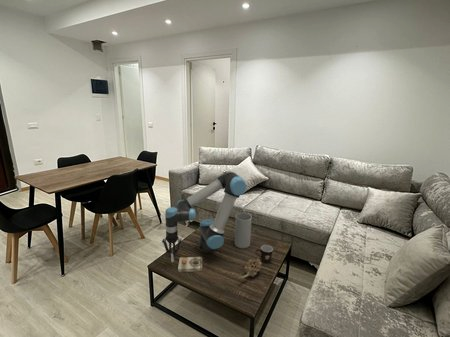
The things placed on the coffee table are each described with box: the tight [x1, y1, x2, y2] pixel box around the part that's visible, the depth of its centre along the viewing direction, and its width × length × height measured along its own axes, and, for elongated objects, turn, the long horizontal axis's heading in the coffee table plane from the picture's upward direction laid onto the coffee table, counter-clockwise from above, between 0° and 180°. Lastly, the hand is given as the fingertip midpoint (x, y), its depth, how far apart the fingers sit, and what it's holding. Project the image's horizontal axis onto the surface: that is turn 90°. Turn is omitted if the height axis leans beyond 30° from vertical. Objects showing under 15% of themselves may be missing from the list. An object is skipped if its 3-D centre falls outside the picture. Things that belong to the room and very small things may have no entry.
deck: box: [177, 256, 203, 273], centre depth 168 cm, size 16×12×2 cm
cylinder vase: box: [234, 212, 253, 249], centre depth 191 cm, size 12×12×25 cm
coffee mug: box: [255, 244, 274, 264], centre depth 175 cm, size 12×9×10 cm
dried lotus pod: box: [238, 258, 262, 280], centre depth 158 cm, size 22×10×10 cm, turn 144°
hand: (172, 260), depth 166 cm, fingers closed
